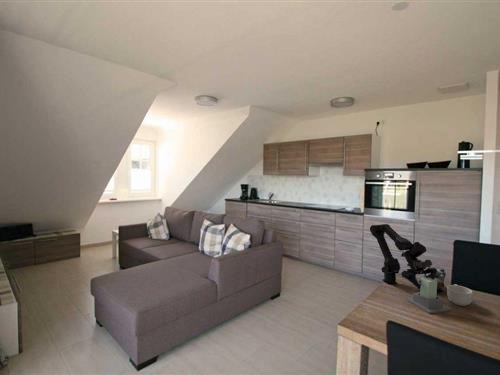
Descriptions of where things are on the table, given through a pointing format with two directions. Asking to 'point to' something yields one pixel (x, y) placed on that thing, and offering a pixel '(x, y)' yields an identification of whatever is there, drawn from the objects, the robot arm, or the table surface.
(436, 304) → the grey square socket base
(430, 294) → the sage block
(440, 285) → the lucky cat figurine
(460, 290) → the teacup
